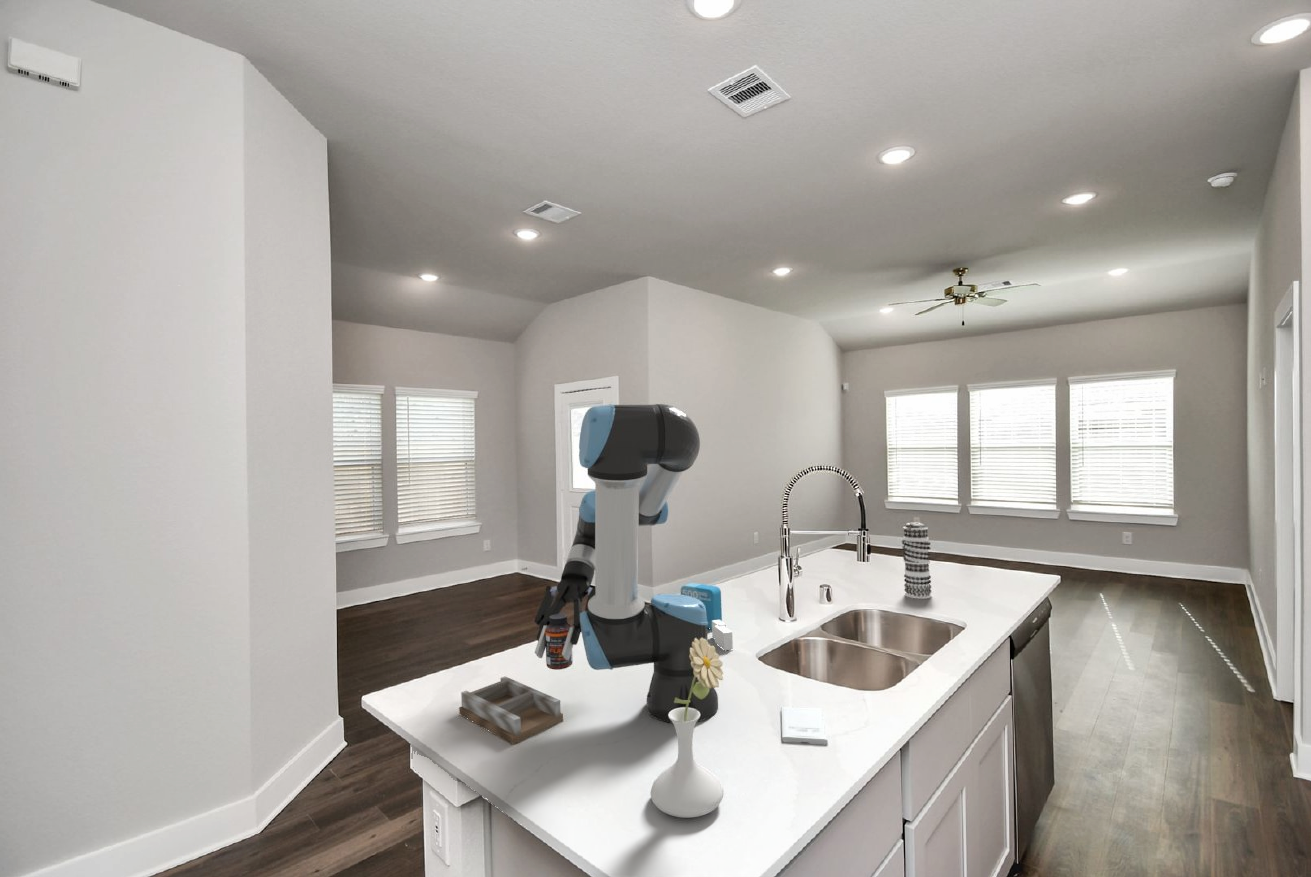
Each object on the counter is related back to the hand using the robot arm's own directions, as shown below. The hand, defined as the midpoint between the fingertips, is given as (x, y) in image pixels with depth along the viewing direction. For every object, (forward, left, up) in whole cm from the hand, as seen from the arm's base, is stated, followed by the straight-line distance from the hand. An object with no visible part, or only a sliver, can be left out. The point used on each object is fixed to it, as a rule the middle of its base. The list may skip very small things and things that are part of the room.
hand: (551, 656), depth 131 cm
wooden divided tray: (0, +11, -10) cm, 15 cm away
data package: (+6, -61, -10) cm, 62 cm away
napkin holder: (-8, -52, -10) cm, 54 cm away
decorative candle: (-34, -131, -10) cm, 136 cm away
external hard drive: (-49, -23, -11) cm, 55 cm away
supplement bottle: (+1, -3, -4) cm, 5 cm away
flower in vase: (-47, +9, -10) cm, 49 cm away
